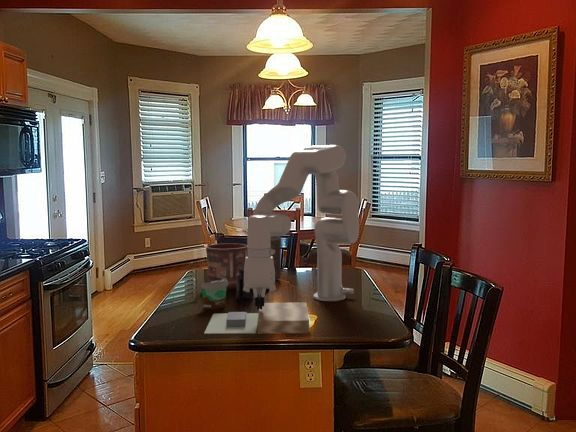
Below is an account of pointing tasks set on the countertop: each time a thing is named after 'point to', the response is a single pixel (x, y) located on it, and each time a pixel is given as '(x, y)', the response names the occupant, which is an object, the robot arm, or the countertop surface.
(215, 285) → the food container
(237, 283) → the supplement bottle
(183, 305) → the countertop surface
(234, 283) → the pottery
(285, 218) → the robot arm
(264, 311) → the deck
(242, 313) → the grey flat block
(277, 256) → the candle
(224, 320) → the mat
